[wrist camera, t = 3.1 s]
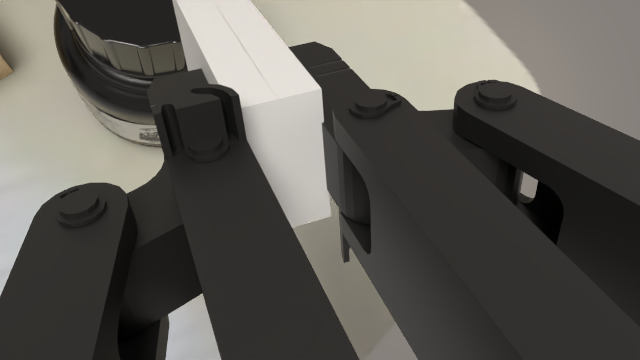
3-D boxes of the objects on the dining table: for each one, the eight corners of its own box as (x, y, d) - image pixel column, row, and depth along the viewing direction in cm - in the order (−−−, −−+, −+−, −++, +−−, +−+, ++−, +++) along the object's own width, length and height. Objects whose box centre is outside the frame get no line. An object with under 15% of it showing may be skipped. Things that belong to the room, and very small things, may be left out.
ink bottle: (79, 158, 32) (10, 86, 20) (64, 7, 33) (-10, -143, 22) (257, 138, 34) (286, 62, 22) (236, -4, 35) (252, -145, 24)
